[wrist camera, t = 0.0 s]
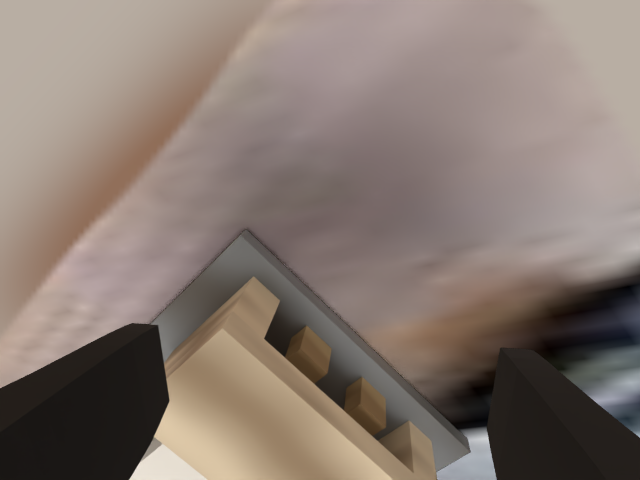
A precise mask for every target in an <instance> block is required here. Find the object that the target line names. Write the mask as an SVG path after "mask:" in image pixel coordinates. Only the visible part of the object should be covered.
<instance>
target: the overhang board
mask: <svg viewBox="0 0 640 480" xmlns="http://www.w3.org/2000/svg"><path fill="white" fill-rule="evenodd" d="M151 325H158V327H159V334H160V340H161V347H162V354H163V360H164V367H165V373H166V380H167V386H168V393H169V400H170V401H169V404H168V406H167V408H166V411H165V413H164V415H163V418H162V420H161V422H160V425H159V427H158V429H157V431H156V433H155V435H154V437H155V438H156V439H157V440H159V441H160V442H161V443H162V444H164V445H165V446H166V447H167V448H169V449H170V450H171V451H172V452H174V453H175V454H176V455H177V456H179V457H180V458H181V459H182V460H184V461H185V462H186V463H187V464H189V465H190V466H191V467H192V468H194V469H195V470H196V471H197V472H199V473H200V474H201V475H202V476H204V477H205V478H206V479H207V480H437V476H436V472H437V471H439V470H441V469H442V468H444V467H446V466H448V465H449V464H451V463H453V462H454V461H456V460H458V459H460V458H461V457H463V456H465V455H466V454H468V453H470V448H469V443H468V439H467V438H466V437H465V436H464V435H463V434H461V433H460V432H459V431H458V430H457V429H456V428H455V427H454V426H453V425H452V424H451V423H450V422H449V421H448V420H447V419H446V418H445V417H444V416H442V415H441V414H440V413H439V412H438V411H437V410H436V409H435V408H434V407H433V406H432V405H431V404H430V403H429V402H428V401H427V400H426V399H425V398H423V397H422V396H421V395H420V394H419V393H418V392H417V391H416V390H415V389H414V388H413V387H412V386H411V385H410V384H409V383H408V382H407V381H406V380H404V379H403V378H402V377H401V376H400V375H399V374H398V373H397V372H396V371H395V370H394V369H393V368H392V367H391V366H390V365H389V364H388V363H387V362H386V361H384V360H383V359H382V358H381V357H380V356H379V355H378V354H377V353H376V352H375V351H374V350H373V349H372V348H371V347H370V346H369V345H368V344H367V343H365V342H364V341H363V340H362V339H361V338H360V337H359V336H358V335H357V334H356V333H355V332H354V331H353V330H352V329H351V328H350V327H349V326H348V325H346V324H345V323H344V322H343V321H342V320H341V319H340V318H339V317H338V316H337V315H336V314H335V313H334V312H333V311H332V310H331V309H330V308H329V307H327V306H326V305H325V304H324V303H323V302H322V301H321V300H320V299H319V298H318V297H317V296H316V295H315V294H314V293H313V292H312V291H311V290H310V289H308V288H307V287H306V286H305V285H304V284H303V283H302V282H301V281H300V280H299V279H298V278H297V277H296V276H295V275H294V274H293V273H292V272H291V271H290V270H288V269H287V268H286V267H285V266H284V265H283V264H282V263H281V262H280V261H279V260H278V259H277V258H276V257H275V256H274V255H273V254H272V253H271V252H269V251H268V250H267V249H266V248H265V247H264V246H263V245H262V244H261V243H260V242H259V241H258V240H257V239H256V238H255V237H254V236H253V235H252V234H250V233H249V232H248V231H247V230H246V229H245V230H244V231H243V232H242V233H241V234H240V235H239V236H238V237H237V238H236V239H235V240H234V241H233V242H232V243H231V244H230V245H229V246H228V247H227V248H226V249H225V250H224V251H223V252H222V253H221V254H220V255H219V256H218V257H217V258H216V259H215V260H214V261H213V262H212V263H211V264H210V265H209V266H208V267H207V268H206V269H205V270H204V271H203V272H202V273H201V274H200V275H199V276H198V277H197V278H196V279H195V280H194V281H193V282H192V283H191V284H190V285H189V286H188V287H187V288H186V289H185V290H184V291H183V292H182V293H181V294H180V295H179V296H178V297H177V298H176V299H175V300H174V301H173V302H172V303H171V304H170V305H169V306H168V307H167V308H166V309H165V310H164V311H163V312H162V313H161V314H160V315H159V316H158V317H157V318H156V319H155V320H154V321H153V322H152V323H151Z"/></svg>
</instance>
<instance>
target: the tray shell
mask: <svg viewBox="0 0 640 480" xmlns="http://www.w3.org/2000/svg"><path fill="white" fill-rule="evenodd" d="M129 480H207V479H206V478H205V477H204V476H202V475H201V474H200V473H199V472H197V471H196V470H195V469H194V468H192V467H191V466H190V465H189V464H187V463H186V462H185V461H184V460H182V459H181V458H180V457H179V456H177V455H176V454H175V453H174V452H172V451H171V450H170V449H169V448H167V447H166V446H165V445H164V444H162V443H161V442H160V441H159V440H157V439H156V438H155V437H154V438H153V440H152V442H151V444H150V446H149V447H148V449H147V451H146V453H145V454H144V456H143V458H142V459H141V461H140V463H139V464H138V466H137V468H136V469H135V471H134V473H133V474H132V476H131V478H130V479H129Z"/></svg>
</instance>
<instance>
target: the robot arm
mask: <svg viewBox="0 0 640 480" xmlns="http://www.w3.org/2000/svg"><path fill="white" fill-rule="evenodd" d="M169 401H170V400H169V393H168V386H167V380H166V373H165V367H164V360H163V354H162V347H161V340H160V334H159V327H158V325H151V324H136V323H131V324H129V325H126V326H124V327H122V328H119V329H117V330H115V331H113V332H111V333H109V334H107V335H105V336H103V337H101V338H99V339H97V340H95V341H93V342H91V343H89V344H87V345H85V346H83V347H81V348H79V349H78V350H76V351H74V352H72V353H70V354H68V355H66V356H64V357H62V358H60V359H58V360H56V361H54V362H52V363H50V364H49V365H47V366H45V367H43V368H41V369H39V370H37V371H35V372H33V373H31V374H29V375H27V376H25V377H23V378H21V379H19V380H17V381H15V382H12V383H10V384H8V385H6V386H4V387H2V388H0V480H129V479H130V478H131V476H132V474H133V473H134V471H135V469H136V468H137V466H138V464H139V463H140V461H141V459H142V458H143V456H144V454H145V453H146V451H147V449H148V447H149V446H150V444H151V442H152V440H153V438H154V435H155V433H156V431H157V429H158V427H159V425H160V422H161V420H162V418H163V415H164V413H165V411H166V408H167V406H168V404H169ZM487 432H488V437H489V443H490V448H491V453H492V458H493V463H494V468H495V473H496V477H497V480H640V438H639V437H638V436H637V435H636V434H634V433H633V432H632V431H630V430H629V429H628V428H627V427H625V426H624V425H623V424H622V423H620V422H619V421H618V420H617V419H615V418H614V417H613V416H612V415H610V414H609V413H608V412H607V411H606V410H604V409H603V408H602V407H601V406H599V405H598V404H597V403H596V402H595V401H593V400H592V399H591V398H590V397H589V396H587V395H586V394H585V393H584V392H583V391H582V390H580V389H579V388H578V387H577V386H576V385H574V384H573V383H572V382H571V381H570V380H569V379H567V378H566V377H565V376H564V375H563V374H561V373H560V372H559V371H558V370H557V369H556V368H554V367H553V366H552V365H551V364H550V363H548V362H547V361H546V360H545V359H543V358H542V357H541V356H540V355H538V354H537V353H536V352H535V351H533V350H527V349H512V348H500V353H499V359H498V364H497V370H496V376H495V382H494V388H493V394H492V400H491V406H490V412H489V418H488V424H487Z"/></svg>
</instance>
